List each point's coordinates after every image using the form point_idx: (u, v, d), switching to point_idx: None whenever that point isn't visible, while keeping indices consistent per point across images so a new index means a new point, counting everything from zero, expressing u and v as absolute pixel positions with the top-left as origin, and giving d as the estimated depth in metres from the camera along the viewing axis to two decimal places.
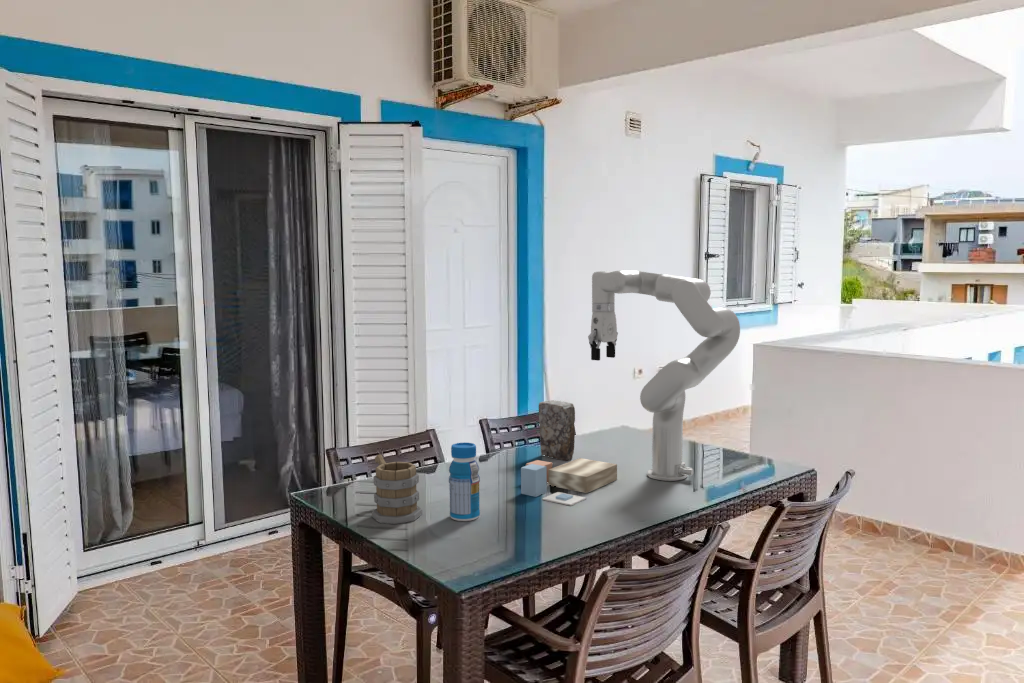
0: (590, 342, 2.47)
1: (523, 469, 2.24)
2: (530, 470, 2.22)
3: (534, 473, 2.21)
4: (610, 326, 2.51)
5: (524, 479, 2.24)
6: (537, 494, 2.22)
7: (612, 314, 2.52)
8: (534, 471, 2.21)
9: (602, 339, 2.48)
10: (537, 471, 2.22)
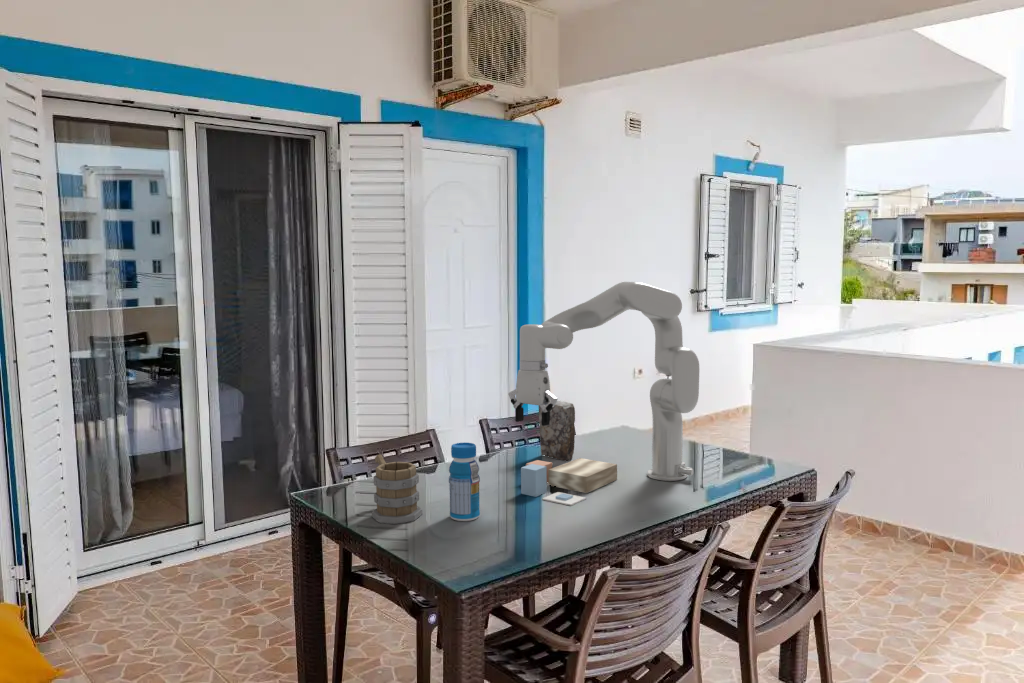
0: (553, 405, 2.18)
1: (523, 469, 2.24)
2: (530, 470, 2.22)
3: (534, 473, 2.21)
4: None
5: (524, 479, 2.24)
6: (537, 494, 2.22)
7: None
8: (534, 471, 2.21)
9: None
10: (537, 471, 2.22)
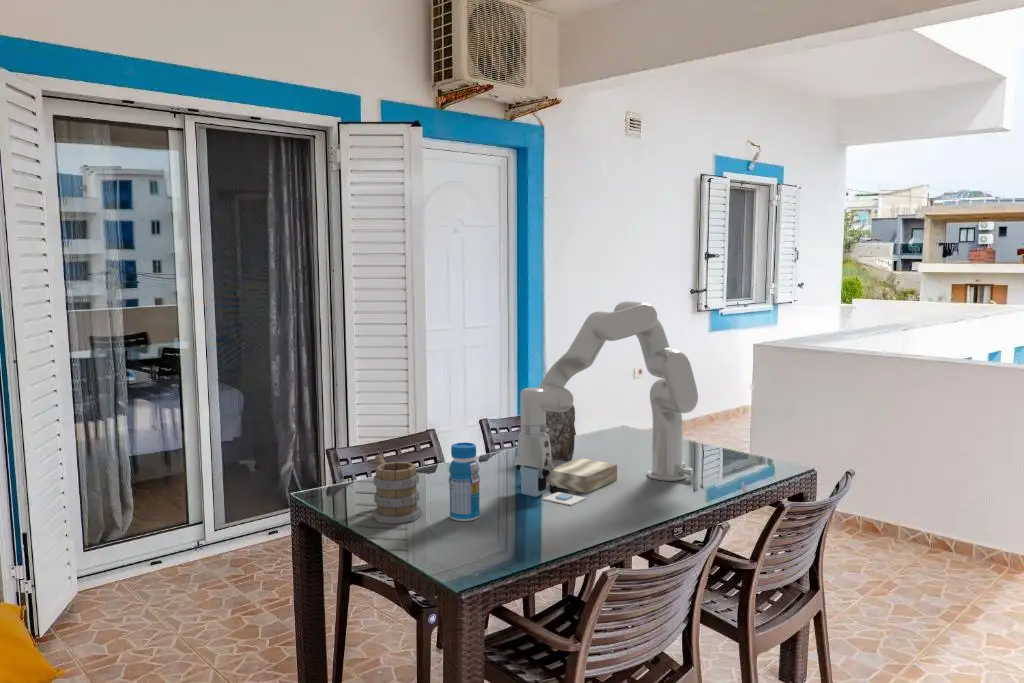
0: (549, 471, 2.21)
1: (523, 469, 2.24)
2: (530, 470, 2.22)
3: (534, 473, 2.21)
4: None
5: (524, 479, 2.24)
6: (537, 494, 2.22)
7: None
8: (534, 471, 2.21)
9: None
10: (537, 471, 2.22)
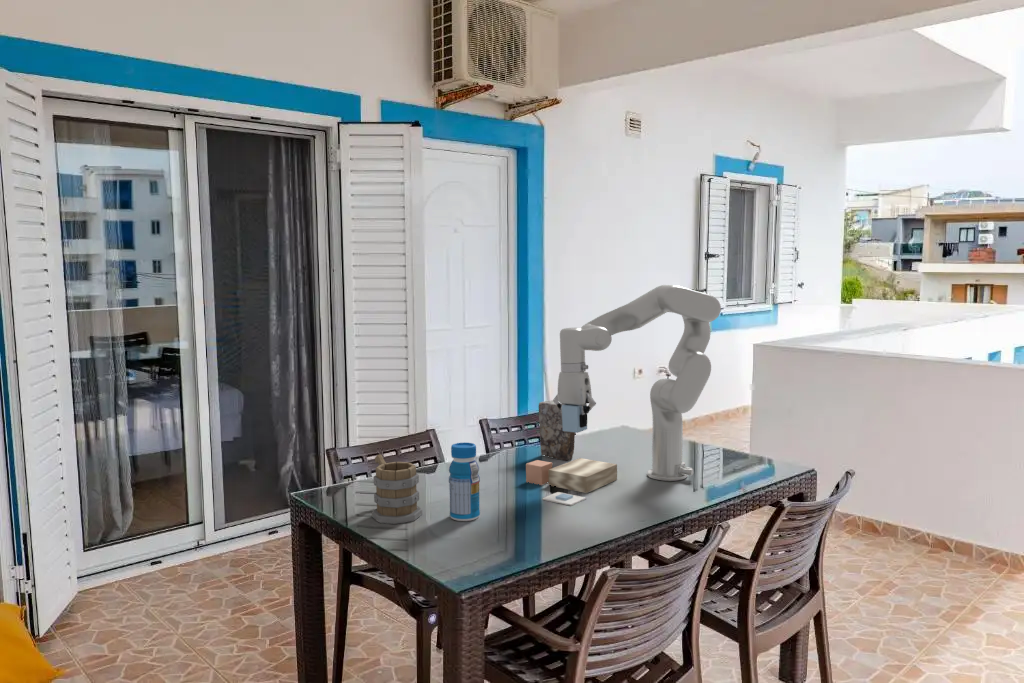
0: (590, 407, 2.28)
1: (564, 407, 2.31)
2: (571, 407, 2.29)
3: (575, 410, 2.28)
4: None
5: (565, 416, 2.31)
6: (579, 430, 2.29)
7: None
8: (575, 408, 2.28)
9: None
10: (578, 408, 2.29)
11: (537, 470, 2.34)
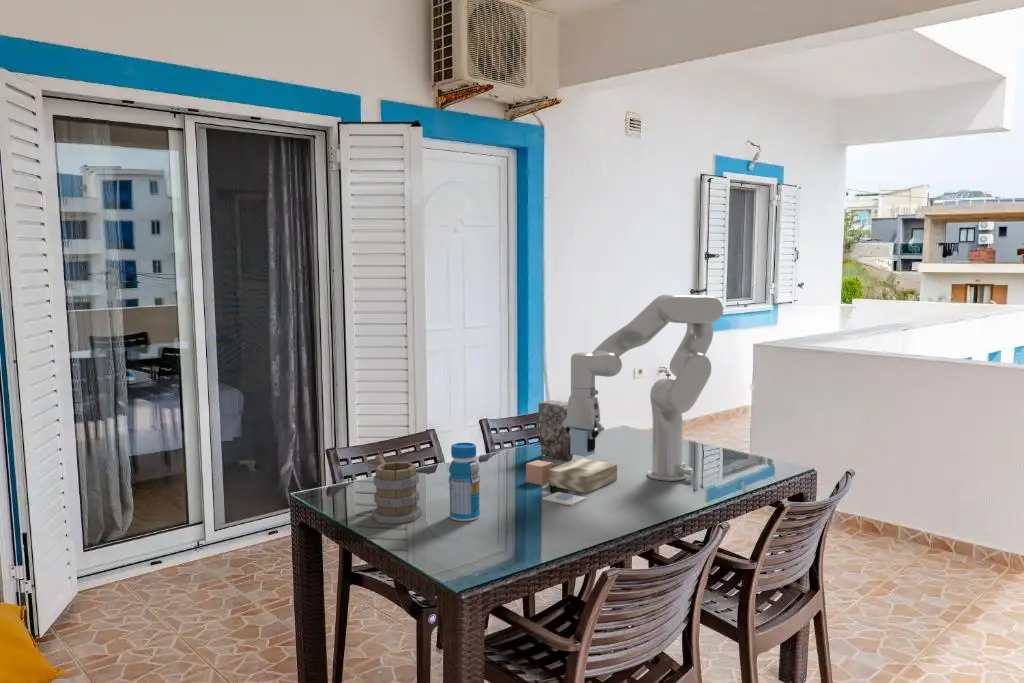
0: (598, 432, 2.31)
1: (573, 430, 2.33)
2: (580, 431, 2.32)
3: (584, 434, 2.31)
4: None
5: (573, 440, 2.33)
6: (586, 454, 2.32)
7: None
8: (584, 432, 2.31)
9: None
10: (586, 432, 2.31)
11: (537, 470, 2.34)
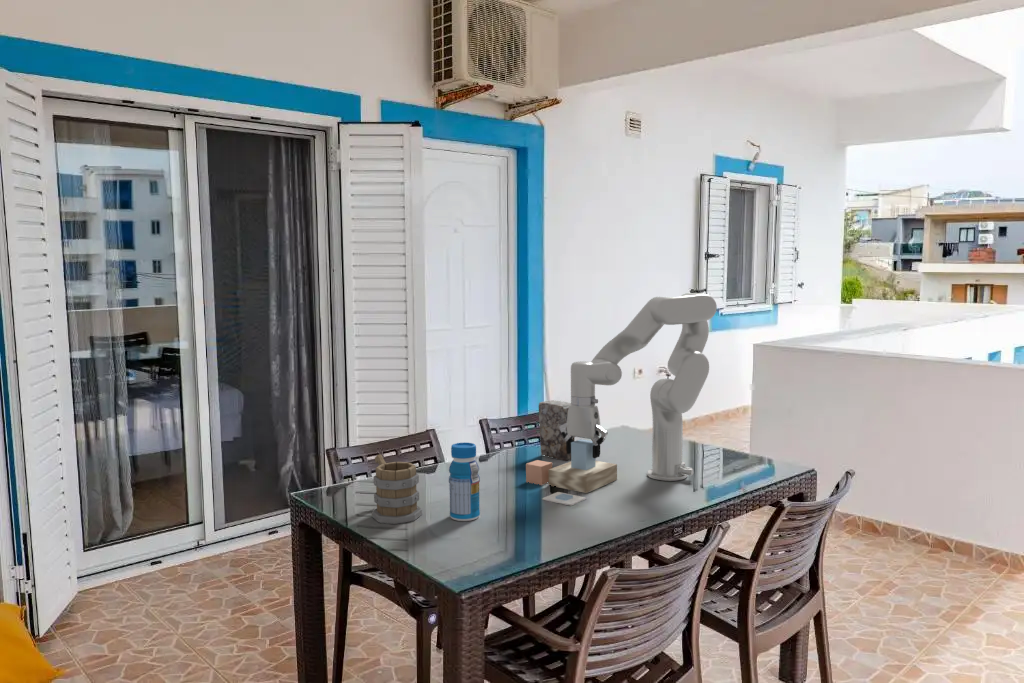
0: (603, 439, 2.30)
1: (573, 444, 2.34)
2: (580, 445, 2.32)
3: (584, 447, 2.31)
4: None
5: (574, 453, 2.34)
6: (587, 468, 2.32)
7: None
8: (584, 445, 2.31)
9: None
10: (587, 445, 2.32)
11: (537, 470, 2.34)
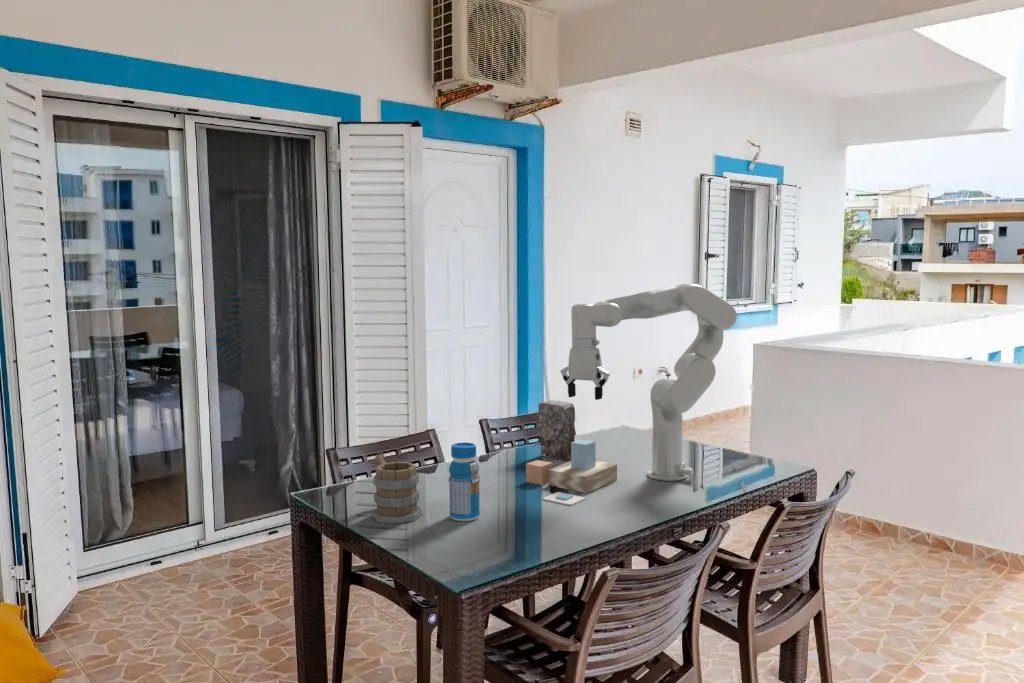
0: (606, 380, 2.29)
1: (573, 444, 2.34)
2: (580, 445, 2.32)
3: (584, 447, 2.31)
4: None
5: (574, 453, 2.34)
6: (587, 468, 2.32)
7: None
8: (584, 445, 2.31)
9: None
10: (587, 445, 2.32)
11: (537, 470, 2.34)
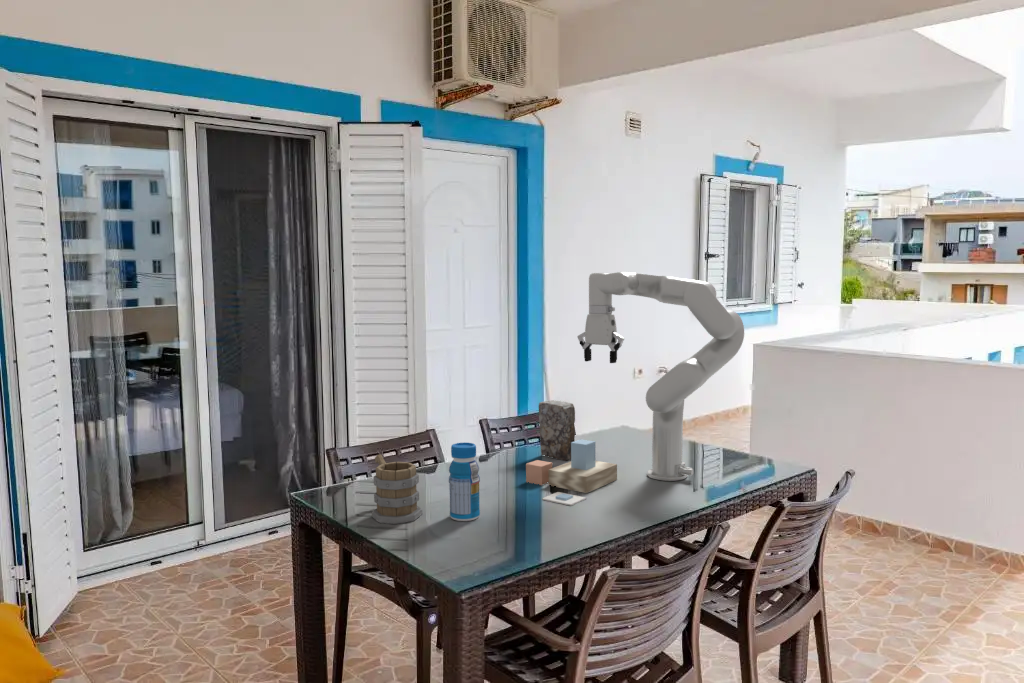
0: (620, 344, 2.43)
1: (573, 444, 2.34)
2: (580, 445, 2.32)
3: (584, 447, 2.31)
4: None
5: (574, 453, 2.34)
6: (587, 468, 2.32)
7: None
8: (584, 445, 2.31)
9: None
10: (587, 445, 2.32)
11: (537, 470, 2.34)
